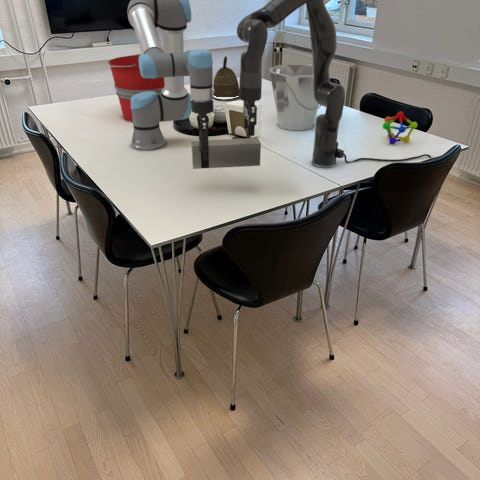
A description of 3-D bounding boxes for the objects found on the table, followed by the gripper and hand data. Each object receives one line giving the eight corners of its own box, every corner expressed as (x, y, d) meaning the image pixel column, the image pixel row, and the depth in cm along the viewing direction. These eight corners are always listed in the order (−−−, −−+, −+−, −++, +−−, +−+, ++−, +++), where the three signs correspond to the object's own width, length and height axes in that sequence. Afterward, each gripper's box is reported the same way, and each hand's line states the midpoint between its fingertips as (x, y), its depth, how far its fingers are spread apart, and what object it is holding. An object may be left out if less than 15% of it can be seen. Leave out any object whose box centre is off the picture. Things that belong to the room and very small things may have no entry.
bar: (193, 169, 159) (191, 146, 154) (192, 163, 163) (191, 140, 159) (260, 165, 162) (260, 143, 157) (257, 159, 166) (258, 137, 162)
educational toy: (377, 146, 209) (379, 114, 202) (384, 138, 219) (386, 107, 211) (411, 149, 202) (415, 116, 195) (417, 141, 212) (420, 109, 204)
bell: (227, 105, 294) (202, 96, 282) (238, 66, 289) (213, 55, 277) (243, 108, 280) (217, 98, 268) (255, 66, 275) (229, 55, 263)
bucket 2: (296, 138, 215) (301, 78, 201) (255, 124, 234) (256, 68, 219) (335, 125, 232) (342, 70, 217) (294, 113, 251) (297, 61, 236)
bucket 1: (122, 106, 262) (115, 52, 246) (181, 107, 261) (178, 52, 245) (105, 124, 232) (96, 64, 216) (172, 125, 231) (167, 64, 216)
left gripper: (215, 106, 142) (217, 173, 154) (210, 92, 157) (212, 154, 170) (192, 107, 141) (195, 175, 153) (189, 93, 156) (192, 155, 169)
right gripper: (265, 89, 144) (263, 138, 152) (257, 80, 156) (256, 125, 164) (242, 89, 143) (241, 138, 151) (236, 80, 155) (236, 126, 163)
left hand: (204, 164), depth 161 cm, fingers closed on bar, 6 cm apart
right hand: (249, 131), depth 157 cm, fingers open, 8 cm apart
